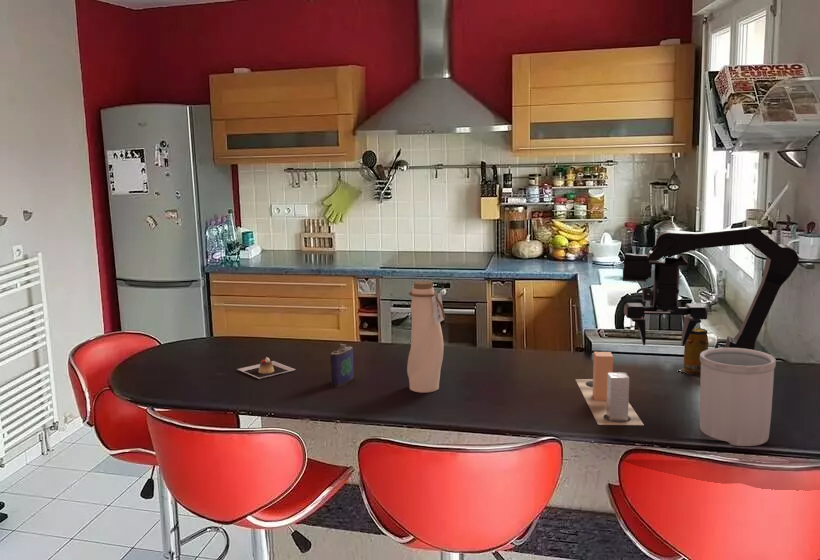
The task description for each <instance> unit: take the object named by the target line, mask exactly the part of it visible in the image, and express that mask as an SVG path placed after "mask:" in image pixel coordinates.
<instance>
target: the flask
mask: <svg viewBox="0 0 820 560" xmlns="http://www.w3.org/2000/svg"><path fill="white" fill-rule="evenodd" d="M339 345H340V347H339V348H338V349H337V350H333V351H332V352H330V356H329V358H330V375H331V387H332V388H340V387H342V386H345V385H347V384H348V383H350V382H351V381H353V380H354V377H355V376H354V375H355V374H354V349H353V346H347V344H343V343H339Z"/></svg>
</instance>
